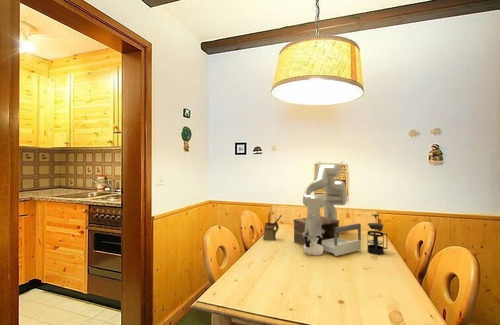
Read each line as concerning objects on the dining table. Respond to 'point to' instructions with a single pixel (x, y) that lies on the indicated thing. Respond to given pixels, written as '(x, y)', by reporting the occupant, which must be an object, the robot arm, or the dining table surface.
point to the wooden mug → (270, 230)
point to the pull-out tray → (343, 241)
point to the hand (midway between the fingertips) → (313, 245)
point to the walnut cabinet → (326, 225)
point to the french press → (376, 238)
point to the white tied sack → (314, 247)
